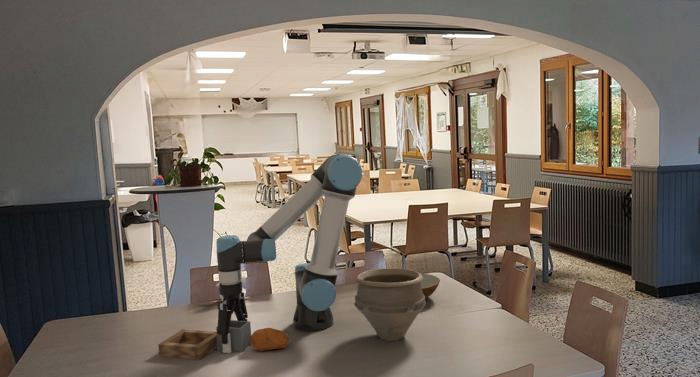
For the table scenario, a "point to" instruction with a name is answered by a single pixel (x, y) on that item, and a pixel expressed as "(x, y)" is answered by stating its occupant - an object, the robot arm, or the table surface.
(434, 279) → the bowl
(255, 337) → the potato
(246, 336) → the grey open box
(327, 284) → the robot arm
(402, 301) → the planter
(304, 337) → the table surface
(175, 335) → the walnut crate
